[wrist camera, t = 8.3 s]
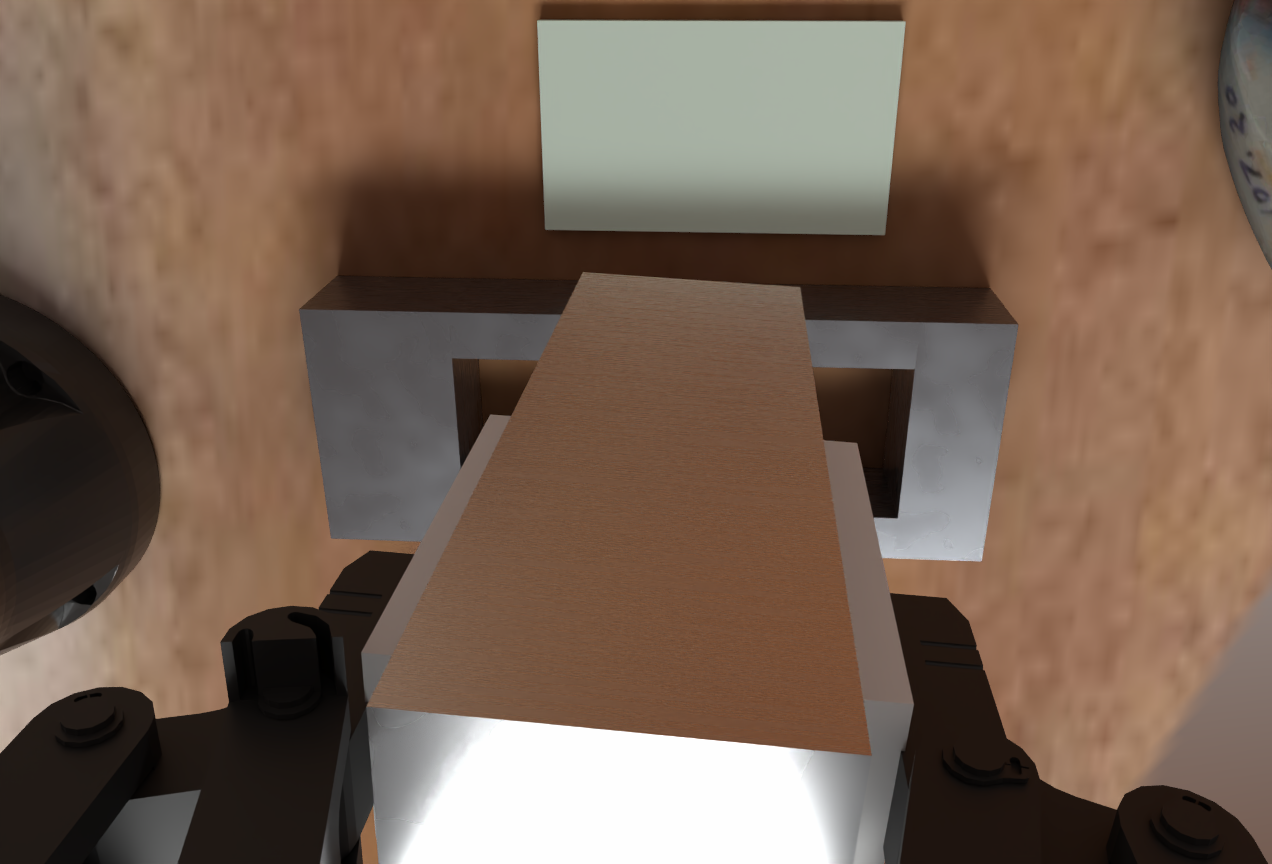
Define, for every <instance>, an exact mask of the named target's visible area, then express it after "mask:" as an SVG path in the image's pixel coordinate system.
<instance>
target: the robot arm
mask: <svg viewBox="0 0 1272 864" xmlns="http://www.w3.org/2000/svg"><path fill="white" fill-rule="evenodd" d="M510 417H511V416H503V415H490V416H489V418H488V420H487V421H486V423H485V425H484V427H483V429H482V431H481V433H480V434H479V436H478V438H477V440H476V442H475V444H474V445H473V447H472V449H471V451H470V453H469V455H468V457H467V458H466V460H465V462H464V464H463V466H462V468H461V469H460V471H459V473H458V475H457V477H456V479H455V481H454V482H453V484H452V486H451V488H450V490H449V492H448V493H447V495H446V497H445V499H444V501H443V503H442V505H441V506H440V508H439V510H438V512H437V514H436V516H435V517H434V519H433V521H432V523H431V525H430V527H429V529H428V530H427V532H426V534H425V536H424V538H423V540H422V541H421V543H420V545H419V547H418V549H417V551H416V552H415V554H404V553H393V552H381V551H369V552H367V553H366V554H365V555H363V556H362V557H360V558H359V559H357V560H356V561H354V562H353V563H351V564H350V565H348V566H347V567H345V568H344V569H343V571H342V572H341V574H340V575H339V577H338V579H337V580H336V582H335V583H334V585H333V586H332V588H331V589H330V594H327V596H326V597H325V599H324V600H323V602H322V603H321V605H320V607H319V609H316V608H313V607H299V606H287V607H280V608H273V609H268V610H265V611H262V612H259V613H257V614H254V615H251V616H248V617H246V618H245V619H243V620H242V621H240V622H239V623H237V624H236V625H234V626H233V627H231V628H230V629H229V631H228V632H227V633H226V635H225V636H224V638H223V639H222V641H221V642H220V643H221V650H222V656H223V663H224V670H225V677H226V684H227V691H228V698H229V704H228V707H226V708H224V709H221V710H216V711H211V712H206V713H201V714H193V715H185V716H177V717H169V718H161V719H155V713H154V708H153V702H152V701H151V700H150V699H149V698H147V697H146V696H145V695H144V694H143V693H142V692H139V691H135V690H132V689H128V688H124V687H100V688H95V689H91V690H87V691H83V692H78V693H74V694H72V695H70V696H68V697H66V698H64V699H61V700H59V701H57V702H55V703H53V704H51V705H50V706H48V707H47V708H46V709H45V710H43V711H42V712H41V713H39V714H38V715H37V716H36V717H34V718H33V719H32V720H31V721H30V722H29V723H28V725H27V726H26V727H25V728H24V729H23V730H22V731H21V732H20V733H19V734H18V735H17V736H16V737H15V738H14V739H13V741H12V742H11V743H10V744H9V745H8V746H7V747H6V748H5V749H4V750H3V751H2V752H1V753H0V864H363V860H362V849H361V837H360V834H361V832H362V830H363V828H364V825H365V823H366V821H367V818H368V816H369V814H370V811H371V809H372V807H374V797H373V784H372V772H371V759H370V746H369V733H368V721H367V708H366V706H367V704H368V702H369V700H370V698H371V696H372V694H373V692H374V690H375V688H376V686H377V684H378V682H379V680H380V678H381V676H382V674H383V672H384V670H385V668H386V666H387V664H388V662H389V660H390V658H391V656H392V654H393V652H394V650H395V648H396V646H397V644H398V642H399V640H400V638H401V636H402V634H403V632H404V630H405V628H406V626H407V624H408V622H409V620H410V618H411V616H412V614H413V612H414V610H415V608H416V606H417V604H418V602H419V600H420V598H421V596H422V594H423V592H424V590H425V588H426V586H427V584H428V582H429V580H430V578H431V576H432V574H433V572H434V570H435V568H436V566H437V564H438V562H439V560H440V558H441V556H442V554H443V552H444V550H445V548H446V546H447V544H448V542H449V540H450V538H451V536H452V534H453V532H454V530H455V528H456V526H457V524H458V522H459V520H460V518H461V516H462V514H463V512H464V510H465V508H466V506H467V504H468V502H469V500H470V498H471V496H472V494H473V492H474V490H475V488H476V486H477V484H478V482H479V480H480V478H481V476H482V474H483V472H484V470H485V468H486V466H487V464H488V462H489V460H490V458H491V456H492V454H493V452H494V450H495V448H496V446H497V444H498V442H499V440H500V438H501V435H502V433H503V431H504V429H505V427H506V425H507V423H508V421H509V419H510ZM824 447H825V453H826V460H827V466H828V473H829V479H830V486H831V493H832V499H833V506H834V512H835V519H836V525H837V532H838V538H839V545H840V551H841V558H842V564H843V571H844V578H845V584H846V591H847V597H848V604H849V610H850V617H851V623H852V630H853V636H854V643H855V649H856V656H857V663H858V669H859V676H860V682H861V689H862V695H863V702H864V708H865V715H866V721H867V728H868V734H869V741H870V748H871V754H872V757H871V763H870V769H869V775H868V781H867V786H866V792H865V798H864V804H863V810H862V815H861V821H860V827H859V833H858V838H857V844H856V850H855V856H854V862H853V864H884V860H885V864H1268V863H1267V861H1266V859H1265V858H1264V856H1263V854H1262V852H1261V851H1260V849H1259V848H1258V846H1257V844H1256V842H1255V840H1254V839H1253V837H1252V836H1251V835H1250V833H1249V832H1248V831H1247V830H1246V829H1245V827H1244V826H1243V825H1242V824H1241V823H1240V821H1239V820H1238V819H1237V818H1236V817H1234V816H1233V815H1231V814H1230V813H1229V812H1227V811H1226V810H1225V809H1223V808H1222V807H1221V806H1219V805H1218V804H1216V803H1215V802H1213V801H1211V800H1208V799H1206V798H1204V797H1202V796H1200V795H1197V794H1195V793H1193V792H1191V791H1188V790H1182V789H1178V788H1173V787H1169V786H1164V785H1161V786H1160V785H1159V786H1141V787H1139V788H1137V789H1135V790H1133V791H1131V792H1128V793H1126V794H1125V795H1124V797H1123V799H1122V801H1121V803H1120V805H1119V806H1118V809H1117V810H1115V809H1112V808H1109V807H1106V806H1103V805H1100V804H1097V803H1094V802H1091V801H1088V800H1084V799H1081V798H1078V797H1075V796H1073V795H1070V794H1068V793H1065V792H1063V791H1061V790H1058V789H1056V788H1054V787H1052V786H1051V785H1049V784H1047V783H1046V782H1044V781H1042V780H1040V779H1039V775H1038V772H1037V769H1036V765H1035V763H1034V762H1033V761H1032V760H1031V759H1030V757H1029V756H1028V755H1027V754H1026V753H1025V752H1024V750H1023V749H1022V748H1021V747H1019V746H1018V745H1016V744H1014V743H1013V742H1011V741H1010V740H1008V739H1007V738H1006V735H1005V732H1004V728H1003V725H1002V722H1001V719H1000V716H999V713H998V710H997V707H996V704H995V701H994V698H993V695H992V691H991V688H990V685H989V682H988V679H987V676H986V673H985V670H983V664H982V661H981V658H980V654H979V651H978V650H976V646H977V645H976V642H975V639H974V636H973V633H972V630H971V627H970V624H969V621H968V620H967V619H966V618H965V617H964V616H963V615H962V614H961V613H960V612H959V611H958V610H957V608H956V607H955V606H954V605H953V604H952V603H951V602H950V601H949V600H948V599H947V598H939V597H927V596H916V595H905V594H893V593H890V592H889V588H888V583H887V578H886V574H885V569H884V565H883V560H882V555H881V551H880V546H879V542H878V537H877V532H876V528H875V523H874V519H873V514H872V509H871V505H870V500H869V496H868V491H867V486H866V482H865V477H864V473H863V468H862V463H861V459H860V454H859V449H858V445H857V443H851V442H838V441H825V440H824ZM159 504H160V484H159V474H158V468H157V462H156V458H155V454H154V450H153V447H152V444H151V441H150V438H149V436H148V433H147V431H146V429H145V426H144V424H143V422H142V420H141V418H140V416H139V414H138V412H137V410H136V409H135V407H134V405H133V403H132V402H131V400H130V398H129V397H128V395H127V394H126V392H125V391H124V389H123V388H122V387H121V385H120V384H119V383H118V381H117V380H116V379H115V377H114V376H113V375H112V374H111V373H110V372H109V370H108V369H107V368H106V367H105V366H104V365H103V364H102V363H101V362H100V360H99V359H98V358H97V357H96V356H95V355H94V354H93V353H92V352H91V351H89V350H88V349H87V348H86V347H85V346H84V345H83V344H82V343H81V342H79V341H78V340H77V339H76V338H74V337H73V336H72V335H71V334H70V333H68V332H67V331H65V330H64V329H63V328H61V327H60V326H59V325H57V324H56V323H54V322H52V321H51V320H49V319H48V318H46V317H45V316H43V315H41V314H39V313H38V312H36V311H34V310H32V309H31V308H29V307H26V306H24V305H22V304H20V303H18V302H16V301H14V300H11V299H9V298H6V297H4V296H2V295H0V655H2V654H4V653H7V652H9V651H11V650H13V649H15V648H18V647H20V646H22V645H24V644H27V643H29V642H31V641H33V640H35V639H38V638H40V637H42V636H44V635H47V634H49V633H51V632H53V631H55V630H58V629H60V628H62V627H64V626H66V625H68V624H70V623H72V622H74V621H76V620H78V619H79V618H81V617H83V616H84V615H86V614H87V613H88V612H90V611H91V610H92V609H94V608H95V607H97V606H98V605H99V604H100V603H101V602H102V601H104V600H105V599H106V598H107V597H108V596H109V594H110V593H111V592H112V591H113V590H114V589H115V588H116V587H117V586H118V585H119V584H120V583H121V582H122V581H123V580H124V578H125V577H126V576H127V575H128V574H129V573H130V572H131V571H132V570H133V569H134V568H135V566H136V565H137V564H138V562H139V561H140V560H141V558H142V557H143V555H144V553H145V552H146V550H147V548H148V546H149V544H150V542H151V539H152V536H153V534H154V531H155V527H156V523H157V519H158V513H159ZM374 819H375V810H374ZM375 832H376V823H375ZM376 838H377V835H376Z"/></svg>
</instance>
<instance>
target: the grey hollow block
mask: <svg viewBox="0 0 1272 864" xmlns="http://www.w3.org/2000/svg"><path fill="white" fill-rule="evenodd" d="M578 281H579V280H529V279H476V278H423V277H370V276H337V277H335V278H334V279H333V280H332V281H331V282H330V283H329V284H327V285H326V286H325V287H324V288H323V289H322V290H321V291H319V292H318V293H317V294H316V295H315V296H314V297H313V298H312V299H310V300H309V301H308V302H307V303H306V304H305V305H304V306H302V307H301V308H300V309H299V311H300V319H301V326H302V333H303V340H304V347H305V354H306V362H307V369H308V376H309V383H310V390H311V397H312V405H313V412H314V419H315V426H316V433H317V441H318V448H319V455H320V462H321V469H322V476H323V484H324V491H325V498H326V505H327V512H328V519H329V527H330V534H331V538H335V539H363V540H392V541H420V542H421V541H422V540H423V538H424V536H425V534H426V532H427V530H428V529H429V527H430V525H431V523H432V521H433V519H434V517H435V516H436V514H437V512H438V510H439V508H440V506H441V505H442V503H443V501H444V499H445V497H446V495H447V493H448V492H449V490H450V488H451V486H452V484H453V482H454V481H455V479H456V477H457V475H458V473H459V471H460V469H461V468H462V466H463V464H464V462H465V460H466V458H467V457H468V455H469V453H470V451H471V449H472V447H473V445H474V444H475V442H476V440H477V438H478V436H479V434H480V433H481V431H482V429H483V418H482V404H481V389H480V374H479V359H503V360H539V359H540V357H541V355H542V353H543V351H544V349H545V347H546V345H547V343H548V341H549V339H550V337H551V335H552V333H553V331H554V329H555V327H556V325H557V323H558V321H559V319H560V317H561V315H562V313H563V311H564V309H565V307H566V305H567V303H568V301H569V299H570V297H571V295H572V293H573V291H574V289H575V287H576V285H577V283H578ZM761 285H776V286H791V287H800V290H801V296H802V303H803V309H804V316H805V322H806V329H807V336H808V342H809V349H810V355H811V362H812V367H838V368H880V369H893V373H892V383H891V392H890V402H889V411H888V421H887V430H886V440H885V449H884V459H883V468H863V473H864V477H865V482H866V486H867V491H868V496H869V500H870V505H871V509H872V514H873V519H874V523H875V528H876V532H877V537H878V542H879V546H880V551H881V555H882V558H901V559H929V560H958V561H982V556H983V550H984V543H985V537H986V530H987V524H988V517H989V511H990V504H991V498H992V491H993V485H994V479H995V472H996V466H997V459H998V453H999V446H1000V440H1001V433H1002V427H1003V420H1004V414H1005V408H1006V401H1007V395H1008V388H1009V382H1010V375H1011V369H1012V362H1013V356H1014V349H1015V343H1016V337H1017V330H1018V323H1017V322H1016V321H1015V319H1014V318H1013V317H1012V316H1011V314H1010V313H1009V312H1008V310H1007V309H1006V308H1005V307H1004V305H1003V304H1002V303H1001V301H1000V300H999V299H998V297H997V296H996V295H995V294H994V292H993V291H992V290H991V288H953V287H900V286H847V285H794V284H761Z"/></svg>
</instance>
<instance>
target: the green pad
mask: <svg viewBox="0 0 1272 864" xmlns="http://www.w3.org/2000/svg"><path fill="white" fill-rule="evenodd" d="M905 23H906V22H905V21H899V20H542V19H540V20H537V28H538V54H539V81H540V107H541V134H542V160H543V186H544V213H545V230H591V231H654V232H717V233H780V234H844V235H885V230H886V220H887V209H888V199H889V189H890V178H891V168H892V157H893V147H894V137H895V126H896V116H897V106H898V95H899V85H900V75H901V64H902V54H903V44H904V33H905Z"/></svg>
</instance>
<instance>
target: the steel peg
mask: <svg viewBox="0 0 1272 864" xmlns="http://www.w3.org/2000/svg"><path fill="white" fill-rule="evenodd" d="M366 708H367V721H368V733H369V746H370V759H371V772H372V784H373V797H374V810H375V823H376V835H377V848H378V861H379V864H853V862H854V856H855V850H856V844H857V838H858V833H859V827H860V821H861V815H862V810H863V804H864V798H865V792H866V786H867V781H868V775H869V769H870V763H871V757H872V754H871V748H870V741H869V734H868V728H867V721H866V715H865V708H864V702H863V695H862V689H861V682H860V676H859V669H858V663H857V656H856V649H855V643H854V636H853V630H852V623H851V617H850V610H849V604H848V597H847V591H846V584H845V578H844V571H843V564H842V558H841V551H840V545H839V538H838V532H837V525H836V519H835V512H834V506H833V499H832V493H831V486H830V479H829V473H828V466H827V460H826V453H825V447H824V440H823V434H822V427H821V421H820V414H819V408H818V401H817V394H816V388H815V381H814V375H813V368H812V362H811V355H810V349H809V342H808V336H807V329H806V322H805V316H804V309H803V303H802V296H801V290H800V287H791V286H776V285H761V284H747V283H732V282H718V281H703V280H689V279H674V278H659V277H645V276H630V275H616V274H601V273H587V272H583V273H582V275H581V277H580V279H579V281H578V283H577V285H576V287H575V289H574V291H573V293H572V295H571V297H570V299H569V301H568V303H567V305H566V307H565V309H564V311H563V313H562V315H561V317H560V319H559V321H558V323H557V325H556V327H555V329H554V331H553V333H552V335H551V337H550V339H549V341H548V343H547V345H546V347H545V349H544V351H543V353H542V355H541V357H540V359H539V361H538V363H537V365H536V367H535V369H534V371H533V373H532V375H531V377H530V379H529V381H528V383H527V385H526V387H525V389H524V391H523V393H522V395H521V397H520V399H519V401H518V403H517V405H516V407H515V409H514V411H513V413H512V415H511V417H510V419H509V421H508V423H507V425H506V427H505V429H504V431H503V433H502V435H501V438H500V440H499V442H498V444H497V446H496V448H495V450H494V452H493V454H492V456H491V458H490V460H489V462H488V464H487V466H486V468H485V470H484V472H483V474H482V476H481V478H480V480H479V482H478V484H477V486H476V488H475V490H474V492H473V494H472V496H471V498H470V500H469V502H468V504H467V506H466V508H465V510H464V512H463V514H462V516H461V518H460V520H459V522H458V524H457V526H456V528H455V530H454V532H453V534H452V536H451V538H450V540H449V542H448V544H447V546H446V548H445V550H444V552H443V554H442V556H441V558H440V560H439V562H438V564H437V566H436V568H435V570H434V572H433V574H432V576H431V578H430V580H429V582H428V584H427V586H426V588H425V590H424V592H423V594H422V596H421V598H420V600H419V602H418V604H417V606H416V608H415V610H414V612H413V614H412V616H411V618H410V620H409V622H408V624H407V626H406V628H405V630H404V632H403V634H402V636H401V638H400V640H399V642H398V644H397V646H396V648H395V650H394V652H393V654H392V656H391V658H390V660H389V662H388V664H387V666H386V668H385V670H384V672H383V674H382V676H381V678H380V680H379V682H378V684H377V686H376V688H375V690H374V692H373V694H372V696H371V698H370V700H369V702H368V704H367V706H366Z"/></svg>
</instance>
